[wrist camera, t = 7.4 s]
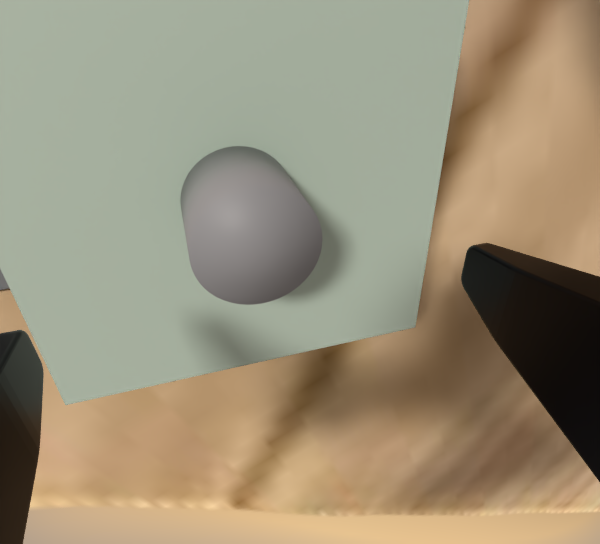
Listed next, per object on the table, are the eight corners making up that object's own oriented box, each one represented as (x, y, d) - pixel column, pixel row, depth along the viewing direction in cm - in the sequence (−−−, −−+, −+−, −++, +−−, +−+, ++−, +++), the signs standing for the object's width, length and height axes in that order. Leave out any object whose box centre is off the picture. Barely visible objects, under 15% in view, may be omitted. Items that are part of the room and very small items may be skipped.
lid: (464, -86, 11) (574, -104, 8) (406, 315, 19) (454, 378, 16) (-148, -86, 8) (-298, -113, 6) (68, 387, 16) (52, 480, 13)
